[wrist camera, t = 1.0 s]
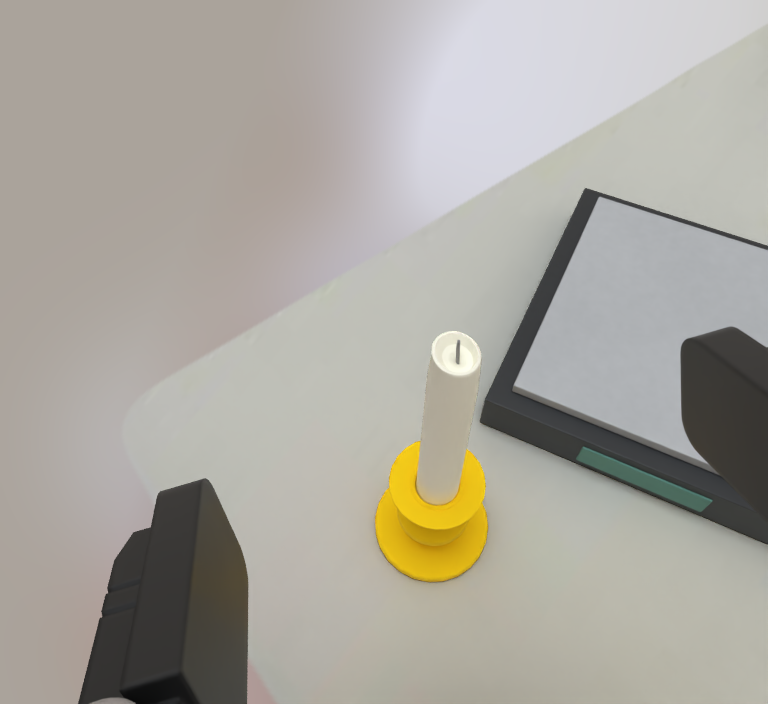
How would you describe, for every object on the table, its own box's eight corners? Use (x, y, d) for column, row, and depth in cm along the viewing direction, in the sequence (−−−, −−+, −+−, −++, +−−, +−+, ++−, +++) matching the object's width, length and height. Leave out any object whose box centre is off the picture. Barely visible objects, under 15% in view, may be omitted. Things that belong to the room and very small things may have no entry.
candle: (499, 493, 32) (571, 295, 19) (468, 600, 30) (528, 452, 17) (397, 459, 33) (399, 248, 20) (358, 558, 31) (333, 390, 18)
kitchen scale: (478, 423, 34) (485, 395, 32) (576, 216, 42) (587, 179, 40) (808, 564, 30) (846, 543, 28) (849, 306, 38) (881, 272, 36)
